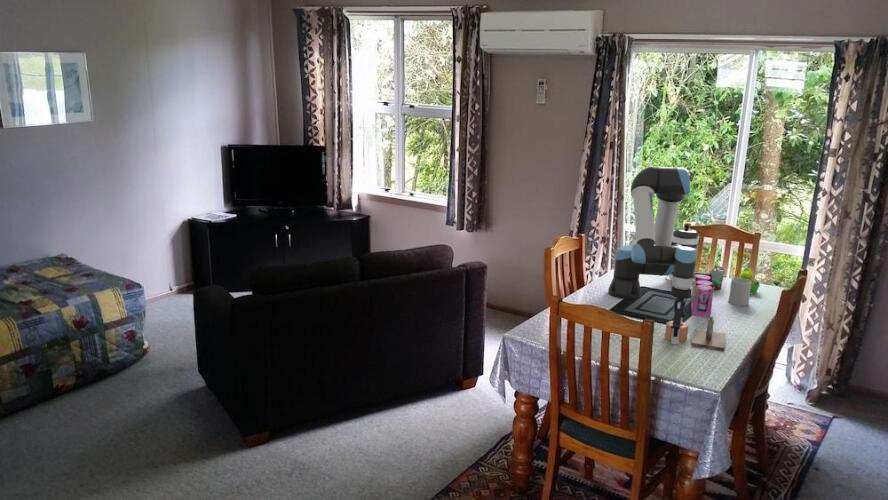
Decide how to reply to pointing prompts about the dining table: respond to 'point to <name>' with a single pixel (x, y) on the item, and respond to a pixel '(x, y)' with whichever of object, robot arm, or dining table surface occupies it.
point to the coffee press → (685, 241)
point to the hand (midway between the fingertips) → (675, 338)
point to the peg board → (708, 342)
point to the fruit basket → (748, 275)
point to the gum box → (702, 295)
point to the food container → (717, 277)
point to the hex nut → (682, 333)
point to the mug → (740, 291)
